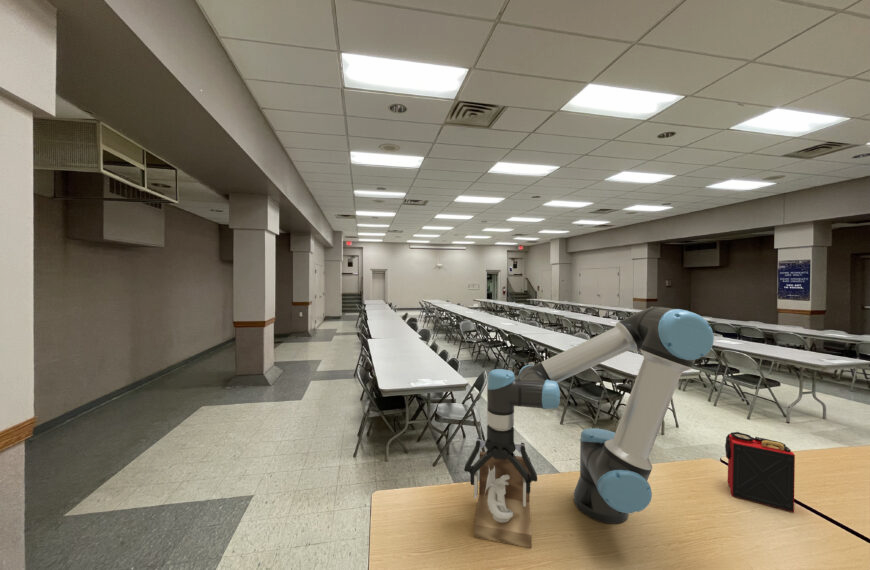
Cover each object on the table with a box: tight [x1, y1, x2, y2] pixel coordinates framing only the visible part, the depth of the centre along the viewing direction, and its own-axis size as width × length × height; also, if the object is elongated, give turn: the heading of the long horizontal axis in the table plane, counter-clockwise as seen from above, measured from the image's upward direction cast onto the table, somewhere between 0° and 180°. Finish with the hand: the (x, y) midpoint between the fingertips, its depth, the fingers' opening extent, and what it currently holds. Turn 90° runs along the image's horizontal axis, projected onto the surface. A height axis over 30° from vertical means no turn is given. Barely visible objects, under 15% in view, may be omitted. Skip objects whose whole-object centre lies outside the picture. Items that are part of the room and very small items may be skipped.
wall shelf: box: [473, 451, 533, 549], centre depth 95 cm, size 15×15×16 cm
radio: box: [724, 431, 796, 513], centre depth 108 cm, size 16×10×20 cm, turn 58°
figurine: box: [484, 466, 513, 523], centre depth 94 cm, size 11×8×12 cm
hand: (499, 499), depth 94 cm, fingers open, 13 cm apart
